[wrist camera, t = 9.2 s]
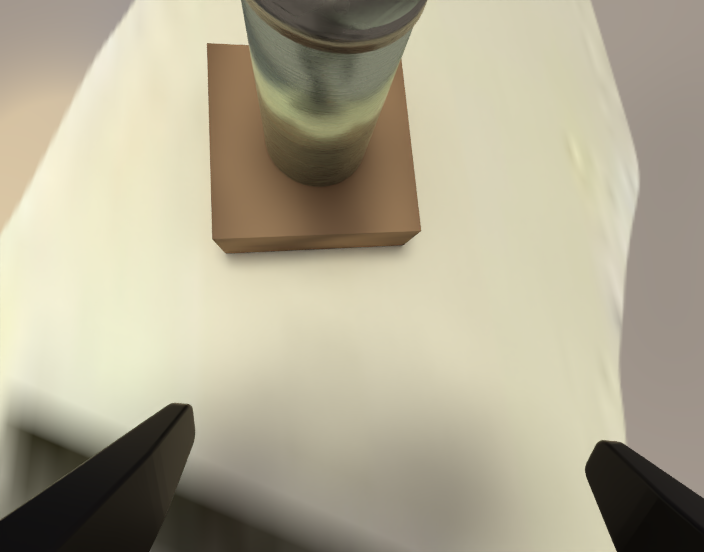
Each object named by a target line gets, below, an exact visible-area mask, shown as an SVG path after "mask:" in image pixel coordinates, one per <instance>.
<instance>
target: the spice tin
mask: <svg viewBox="0 0 704 552" xmlns="http://www.w3.org/2000/svg"><path fill="white" fill-rule="evenodd" d="M241 2H242V8H243V14H244V20H245V26H246V31H247V37H248V43H249V49H250V55H251V61H252V66H253V72H254V78H255V84H256V90H257V96H258V101H259V107H260V113H261V119H262V125H263V131H264V137H265V142H266V147H267V151H268V154H269V156H270V158H271V160H272V161H273V163H274V164H275V166H276V167H277V168H278V169H279V170H280V171H281V172H282V173H283V174H284V175H286V176H287V177H289V178H290V179H292V180H294V181H296V182H298V183H301V184H304V185H308V186H315V187H324V186H330V185H334V184H337V183H339V182H342V181H343V180H345V179H347V178H348V177H349V176H351V175H352V174H353V173H354V172H355V171H356V170H357V168H358V167H359V165H360V163H361V161H362V159H363V157H364V154H365V152H366V149H367V146H368V144H369V141H370V138H371V136H372V133H373V131H374V128H375V125H376V123H377V120H378V118H379V115H380V112H381V110H382V107H383V104H384V102H385V99H386V97H387V94H388V91H389V89H390V86H391V84H392V81H393V78H394V76H395V73H396V70H397V68H398V65H399V63H400V60H401V57H402V55H403V52H404V50H405V47H406V44H407V42H408V39H409V36H410V34H411V31H412V29H413V26H414V25H415V24H416V22H417V21H418V20H419V18H420V16H421V14H422V12H423V10H424V8H425V5H426V3H427V0H241Z"/></svg>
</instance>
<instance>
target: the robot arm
mask: <svg viewBox="0 0 704 552" xmlns="http://www.w3.org/2000/svg"><path fill="white" fill-rule="evenodd" d="M194 439H195V424H194V416H193V409H192V406H191V405H189V404H182V403H171V404H169V405H167V406H166V407H164V408H163V409H161V410H160V411H159V412H157V413H156V414H154V415H153V416H151V417H150V418H148V419H147V420H145V421H144V422H142V423H141V424H140V425H138V426H137V427H135V428H134V429H132V430H131V431H129V432H128V433H126V434H125V435H123V436H122V437H121V438H119V439H118V440H116V441H115V442H113V443H112V444H110V445H109V446H107V447H106V448H104V449H103V450H102V451H100V452H99V453H97V454H96V455H94V456H93V457H91V458H90V459H88V460H87V461H86V462H84V463H83V464H81V465H80V466H78V467H77V468H75V469H74V470H72V471H71V472H69V473H68V474H67V475H65V476H64V477H62V478H61V479H59V480H58V481H56V482H55V483H53V484H52V485H50V486H49V487H48V488H46V489H45V490H43V491H42V492H40V493H39V494H37V495H36V496H34V497H33V498H31V499H30V500H29V501H27V502H26V503H24V504H23V505H21V506H20V507H18V508H17V509H15V510H14V511H12V512H11V513H10V514H8V515H7V516H5V517H4V518H2V519H1V520H0V552H149V551H150V549H151V547H152V545H153V543H154V540H155V538H156V536H157V534H158V532H159V530H160V528H161V526H162V524H163V521H164V519H165V517H166V514H167V512H168V509H169V507H170V504H171V501H172V499H173V496H174V493H175V491H176V488H177V485H178V483H179V480H180V478H181V475H182V472H183V470H184V467H185V464H186V462H187V459H188V456H189V454H190V451H191V448H192V446H193V443H194ZM585 473H586V477H587V480H588V482H589V485H590V487H591V490H592V492H593V495H594V497H595V500H596V502H597V505H598V507H599V509H600V512H601V514H602V517H603V519H604V522H605V524H606V527H607V529H608V532H609V534H610V537H611V539H612V542H613V544H614V546H615V549H616V551H617V552H704V498H702V497H701V496H699V495H698V494H696V493H695V492H693V491H692V490H691V489H689V488H688V487H686V486H685V485H683V484H682V483H680V482H679V481H677V480H676V479H674V478H673V477H672V476H670V475H669V474H667V473H666V472H664V471H663V470H661V469H659V468H658V467H657V466H655V465H654V464H652V463H651V462H650V461H648V460H647V459H645V458H644V457H642V456H640V455H639V454H638V453H636V452H635V451H633V450H632V449H630V448H629V447H628V446H626V445H625V444H623V443H621V442H617V441H606V440H601V441H599V442H598V443H597V444H596V446H595V448H594V449H593V451H592V453H591V455H590V457H589V459H588V461H587V463H586V466H585Z"/></svg>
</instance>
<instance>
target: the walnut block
mask: <svg viewBox="0 0 704 552" xmlns="http://www.w3.org/2000/svg"><path fill="white" fill-rule="evenodd" d="M207 60H208V96H209V133H210V169H211V206H212V239H213V240H214V241H215V242H216V243H217V245H218V246H219V247H220V248H221V249H222V250H223V251H224V252H225V253H244V252H266V251H287V250H309V249H330V248H352V247H373V246H395V245H404V244H405V243H406V242H408V241H409V240H410V239H411V238H413V237H414V236H415V235H417V234H418V233H419V232H420V231H421V226H420V217H419V208H418V200H417V191H416V182H415V174H414V165H413V156H412V148H411V139H410V130H409V122H408V113H407V104H406V95H405V87H404V78H403V69H402V61H401V60H400V63H399V65H398V68H397V70H396V73H395V76H394V78H393V81H392V84H391V86H390V89H389V91H388V94H387V97H386V99H385V102H384V104H383V107H382V110H381V112H380V115H379V118H378V120H377V123H376V125H375V128H374V131H373V133H372V136H371V138H370V141H369V144H368V146H367V149H366V152H365V154H364V157H363V159H362V161H361V163H360V165H359V167H358V168H357V170H356V171H355V172H354V173H353V174H352V175H351V176H349V177H348V178H347V179H345V180H343V181H342V182H339V183H337V184H334V185H330V186H324V187H315V186H308V185H304V184H301V183H298V182H296V181H294V180H292V179H290V178H289V177H287V176H286V175H284V174H283V173H282V172H281V171H280V170H279V169H278V168H277V167H276V166H275V164H274V163H273V161H272V160H271V158H270V156H269V154H268V151H267V147H266V142H265V137H264V131H263V125H262V119H261V113H260V107H259V101H258V96H257V90H256V84H255V78H254V72H253V66H252V61H251V55H250V49H249V45H230V44H211V43H207Z"/></svg>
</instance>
